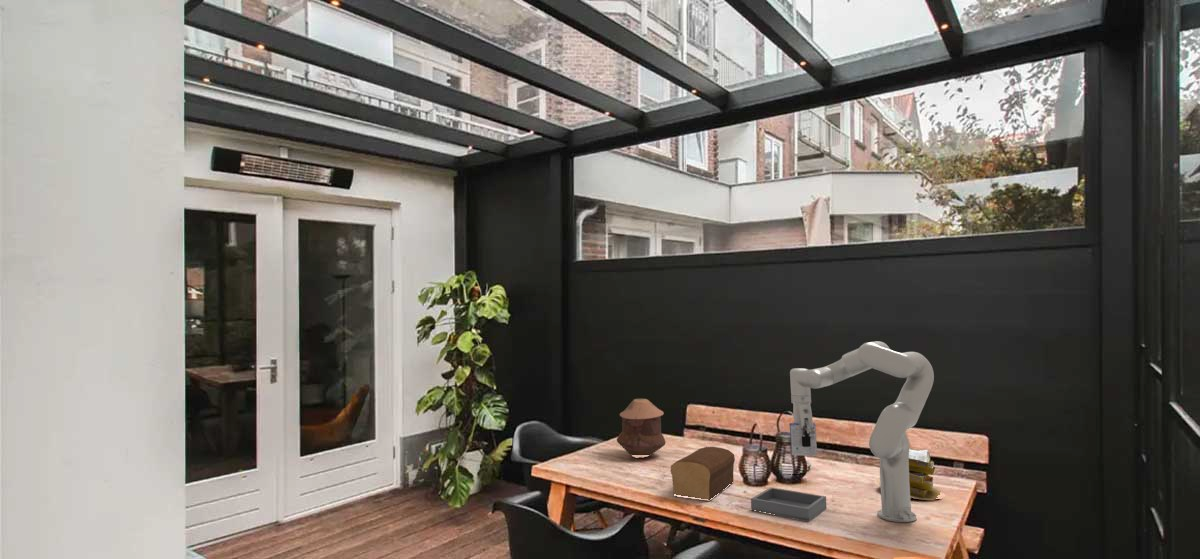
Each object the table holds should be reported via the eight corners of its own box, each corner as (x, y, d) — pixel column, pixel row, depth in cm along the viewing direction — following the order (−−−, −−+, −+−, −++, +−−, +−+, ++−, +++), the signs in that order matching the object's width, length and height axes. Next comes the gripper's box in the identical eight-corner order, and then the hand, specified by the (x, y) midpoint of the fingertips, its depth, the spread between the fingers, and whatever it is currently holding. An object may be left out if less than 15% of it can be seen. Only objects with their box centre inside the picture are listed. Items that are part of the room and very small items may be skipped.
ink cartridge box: (815, 452, 248) (814, 416, 249) (818, 456, 242) (816, 419, 243) (790, 452, 250) (788, 416, 250) (792, 456, 244) (790, 419, 245)
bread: (670, 497, 253) (669, 457, 254) (697, 479, 278) (696, 443, 279) (712, 503, 243) (710, 461, 244) (736, 484, 269) (735, 446, 270)
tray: (826, 508, 232) (825, 496, 233) (808, 521, 218) (808, 509, 219) (771, 498, 246) (770, 487, 246) (751, 510, 232) (750, 498, 232)
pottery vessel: (642, 449, 342) (640, 394, 344) (676, 456, 323) (674, 398, 325) (607, 457, 326) (605, 399, 327) (641, 465, 306) (639, 404, 308)
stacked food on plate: (953, 491, 250) (950, 449, 251) (934, 505, 232) (932, 460, 233) (889, 480, 267) (887, 441, 268) (867, 493, 249) (865, 452, 250)
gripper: (818, 402, 239) (820, 449, 238) (803, 396, 256) (805, 440, 255) (798, 402, 239) (801, 449, 238) (785, 396, 256) (787, 440, 255)
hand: (803, 444), depth 246 cm, fingers closed on ink cartridge box, 6 cm apart
